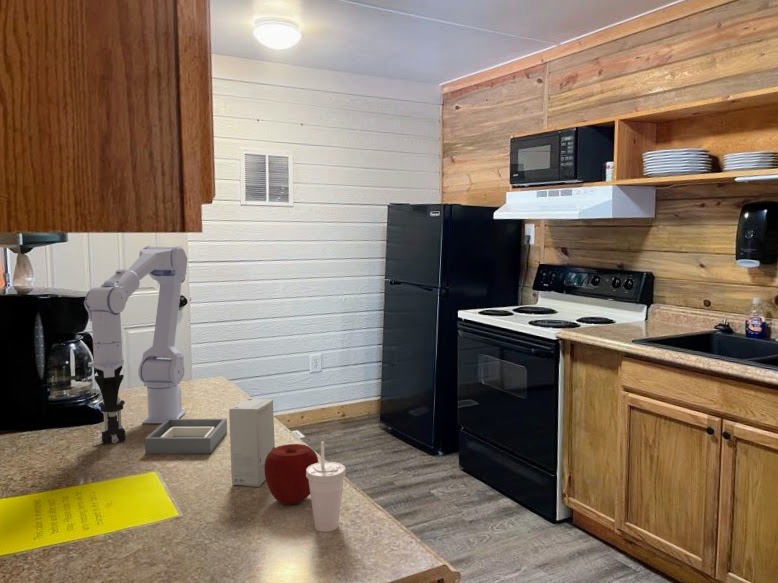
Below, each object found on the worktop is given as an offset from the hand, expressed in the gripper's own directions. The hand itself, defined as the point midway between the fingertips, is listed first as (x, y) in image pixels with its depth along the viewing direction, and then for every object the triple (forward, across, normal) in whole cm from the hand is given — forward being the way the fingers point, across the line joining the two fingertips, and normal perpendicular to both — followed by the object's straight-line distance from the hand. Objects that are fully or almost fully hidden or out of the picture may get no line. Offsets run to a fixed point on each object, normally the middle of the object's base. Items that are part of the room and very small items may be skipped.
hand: (110, 402), depth 136 cm
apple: (+10, +43, +29) cm, 53 cm away
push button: (+10, -4, 0) cm, 11 cm away
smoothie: (+10, +55, +31) cm, 64 cm away
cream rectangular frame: (+10, +4, +16) cm, 19 cm away
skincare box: (+10, +30, +24) cm, 40 cm away
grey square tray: (+10, +4, +16) cm, 19 cm away
